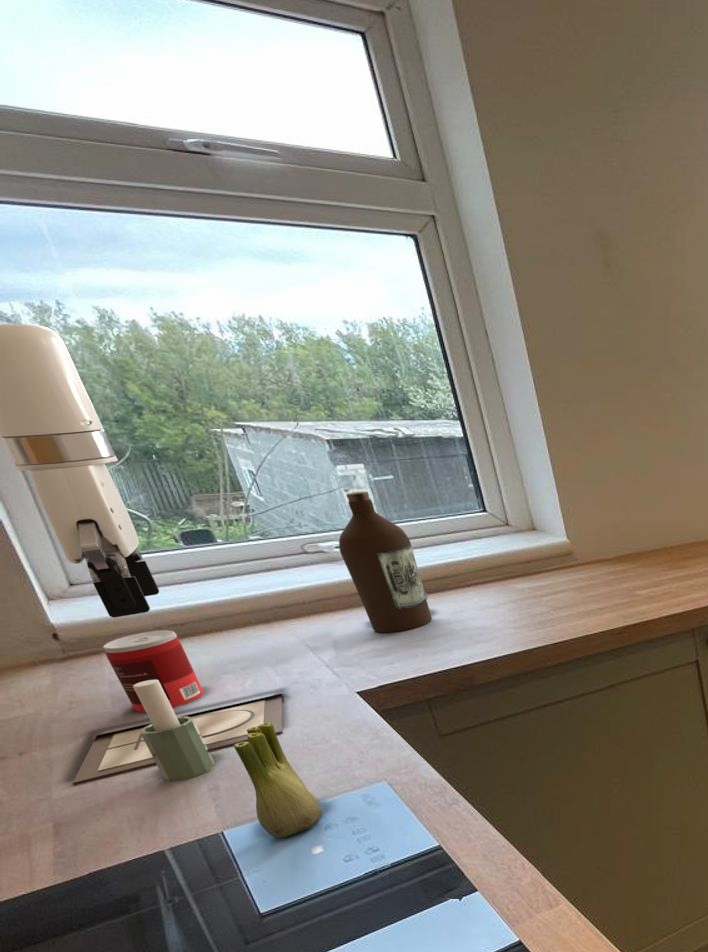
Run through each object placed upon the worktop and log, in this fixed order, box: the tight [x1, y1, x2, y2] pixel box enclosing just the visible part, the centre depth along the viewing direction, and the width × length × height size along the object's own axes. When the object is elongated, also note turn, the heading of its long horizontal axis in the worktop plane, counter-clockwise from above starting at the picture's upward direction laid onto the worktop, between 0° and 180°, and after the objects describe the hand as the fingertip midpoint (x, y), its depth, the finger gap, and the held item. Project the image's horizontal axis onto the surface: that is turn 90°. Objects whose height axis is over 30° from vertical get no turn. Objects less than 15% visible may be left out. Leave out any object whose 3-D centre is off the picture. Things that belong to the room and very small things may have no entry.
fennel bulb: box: [233, 723, 323, 838], centre depth 85 cm, size 6×5×12 cm
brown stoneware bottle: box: [338, 490, 433, 633], centre depth 150 cm, size 11×11×25 cm
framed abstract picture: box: [72, 693, 285, 786], centre depth 111 cm, size 20×18×1 cm
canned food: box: [102, 629, 205, 713], centre depth 119 cm, size 8×8×11 cm
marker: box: [133, 680, 180, 731], centre depth 98 cm, size 2×2×12 cm
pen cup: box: [140, 715, 216, 782], centre depth 99 cm, size 5×5×7 cm
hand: (136, 605), depth 93 cm, fingers open, 9 cm apart
